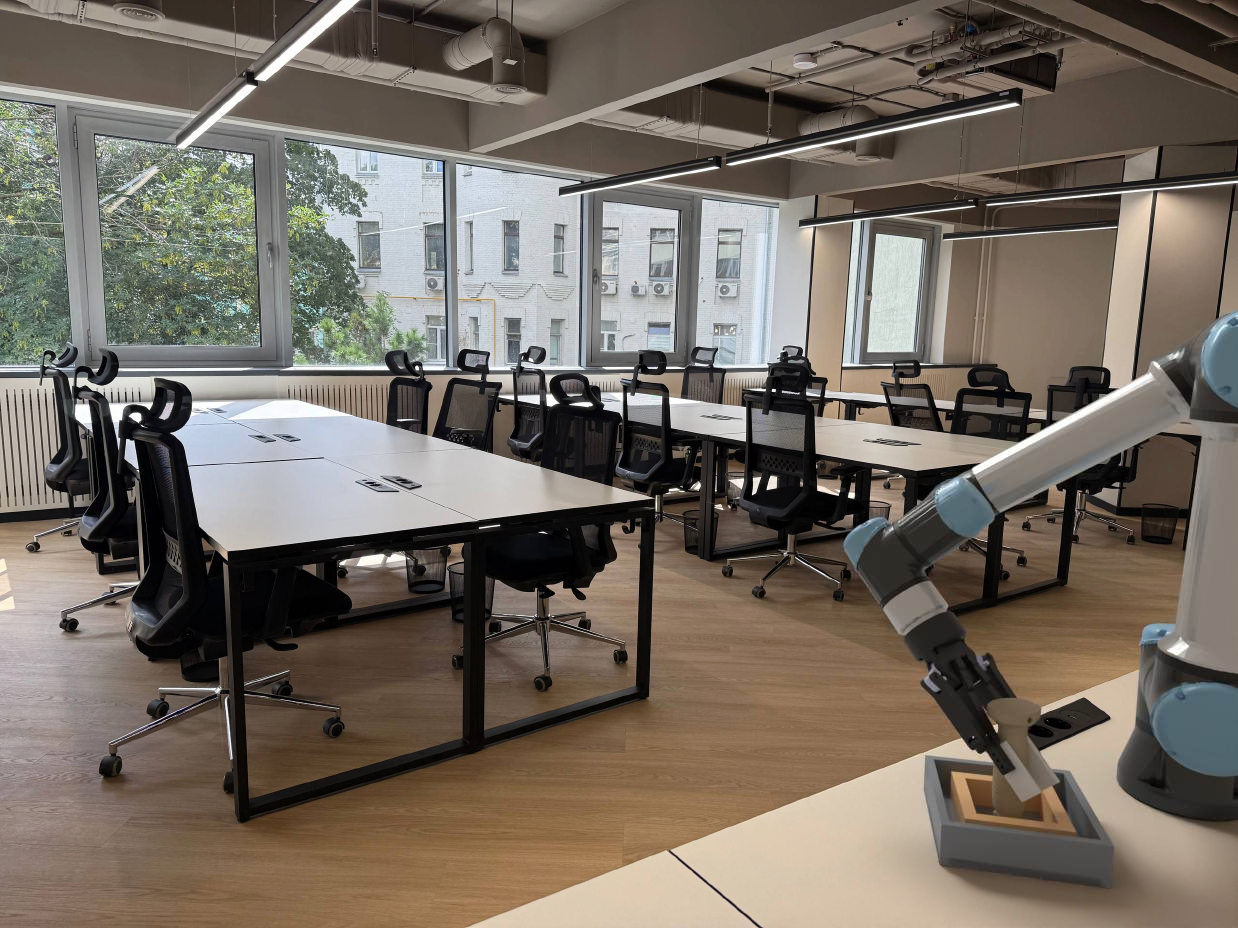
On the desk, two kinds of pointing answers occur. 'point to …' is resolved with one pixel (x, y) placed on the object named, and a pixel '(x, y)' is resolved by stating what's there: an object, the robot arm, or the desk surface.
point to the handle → (1013, 729)
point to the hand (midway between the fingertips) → (1040, 791)
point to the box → (1015, 826)
